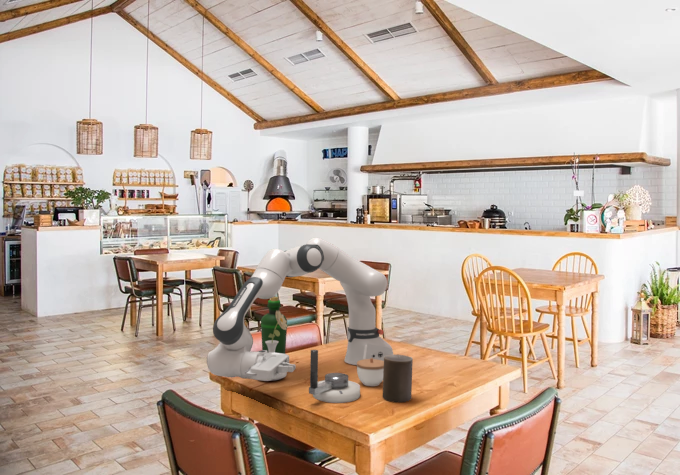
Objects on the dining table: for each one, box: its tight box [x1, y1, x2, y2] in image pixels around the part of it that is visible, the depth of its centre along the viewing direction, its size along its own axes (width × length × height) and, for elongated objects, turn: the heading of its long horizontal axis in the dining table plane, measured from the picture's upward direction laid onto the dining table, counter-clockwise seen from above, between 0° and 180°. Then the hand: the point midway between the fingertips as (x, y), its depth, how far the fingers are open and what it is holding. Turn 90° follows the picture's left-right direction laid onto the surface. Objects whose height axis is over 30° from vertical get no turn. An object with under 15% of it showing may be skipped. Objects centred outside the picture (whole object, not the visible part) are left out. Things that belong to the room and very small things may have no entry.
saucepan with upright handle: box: [308, 349, 349, 396], centre depth 193 cm, size 17×8×14 cm, turn 143°
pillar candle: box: [382, 353, 413, 403], centre depth 195 cm, size 10×10×15 cm
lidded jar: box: [356, 358, 384, 387], centre depth 210 cm, size 11×11×9 cm
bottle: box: [260, 296, 288, 354], centre depth 229 cm, size 11×11×28 cm
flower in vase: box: [265, 310, 288, 381], centre depth 215 cm, size 13×11×25 cm
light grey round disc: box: [312, 379, 361, 404], centre depth 197 cm, size 16×16×3 cm
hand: (294, 368), depth 189 cm, fingers closed
